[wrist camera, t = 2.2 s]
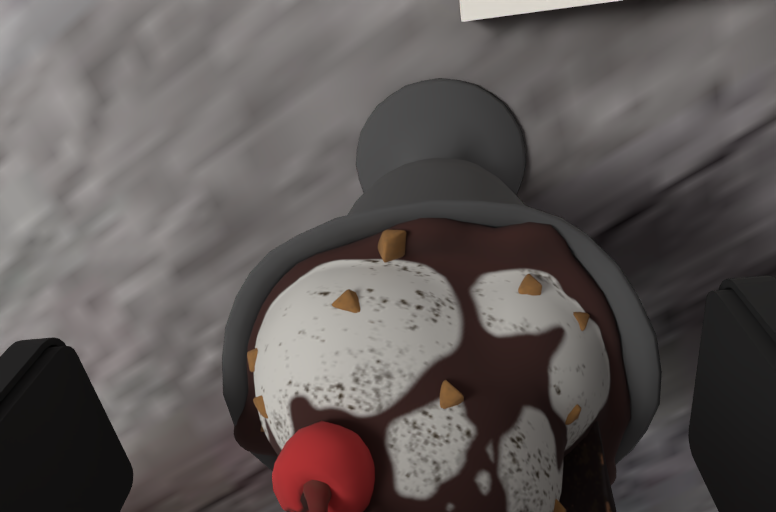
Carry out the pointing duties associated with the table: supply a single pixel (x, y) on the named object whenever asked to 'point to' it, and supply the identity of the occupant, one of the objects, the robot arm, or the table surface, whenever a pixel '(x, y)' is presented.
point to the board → (515, 7)
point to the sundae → (440, 334)
